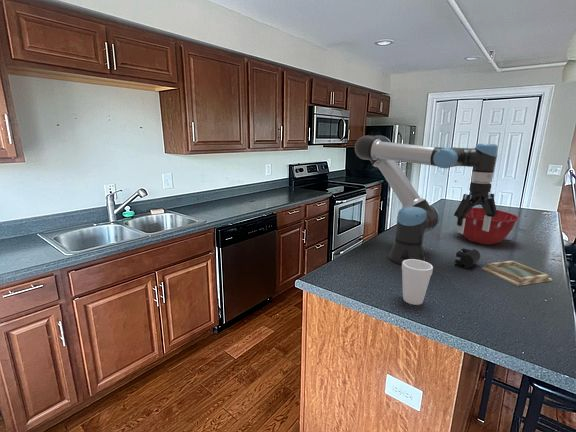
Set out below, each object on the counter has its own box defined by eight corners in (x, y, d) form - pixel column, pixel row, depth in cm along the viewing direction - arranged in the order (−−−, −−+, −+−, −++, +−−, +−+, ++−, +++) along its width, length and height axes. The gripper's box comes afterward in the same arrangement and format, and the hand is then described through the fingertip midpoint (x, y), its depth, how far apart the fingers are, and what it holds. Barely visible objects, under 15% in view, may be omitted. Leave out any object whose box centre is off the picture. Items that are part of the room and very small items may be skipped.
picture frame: (517, 286, 120) (518, 280, 119) (481, 269, 135) (482, 263, 134) (552, 280, 125) (553, 275, 124) (513, 265, 140) (515, 259, 139)
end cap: (471, 271, 133) (474, 256, 131) (453, 266, 138) (456, 251, 136) (479, 265, 140) (481, 250, 138) (461, 260, 145) (464, 246, 143)
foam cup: (420, 293, 113) (425, 259, 110) (432, 307, 104) (438, 270, 101) (394, 293, 112) (398, 259, 109) (404, 307, 104) (408, 270, 100)
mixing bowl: (508, 254, 153) (515, 223, 150) (445, 240, 171) (450, 213, 168) (515, 240, 174) (521, 213, 170) (459, 229, 192) (463, 205, 188)
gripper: (463, 184, 123) (455, 236, 128) (512, 182, 130) (503, 232, 135) (449, 181, 130) (442, 231, 135) (496, 180, 137) (488, 227, 142)
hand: (472, 232), depth 135 cm, fingers open, 13 cm apart
